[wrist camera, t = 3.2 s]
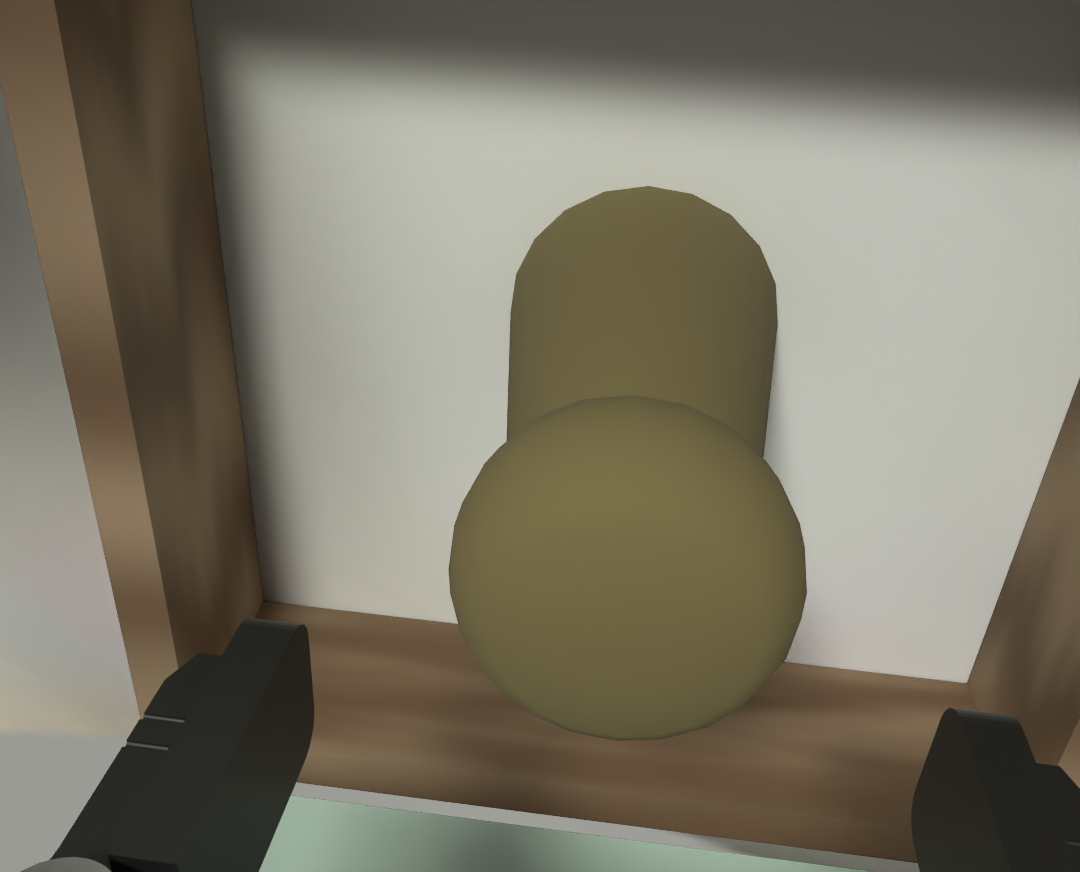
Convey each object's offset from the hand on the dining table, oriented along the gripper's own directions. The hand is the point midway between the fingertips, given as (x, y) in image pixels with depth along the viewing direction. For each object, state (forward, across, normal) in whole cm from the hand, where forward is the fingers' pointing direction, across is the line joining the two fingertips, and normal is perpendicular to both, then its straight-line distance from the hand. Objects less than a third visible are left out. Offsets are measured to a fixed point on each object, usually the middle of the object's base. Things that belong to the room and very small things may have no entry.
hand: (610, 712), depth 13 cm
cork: (+12, 0, 0) cm, 12 cm away
